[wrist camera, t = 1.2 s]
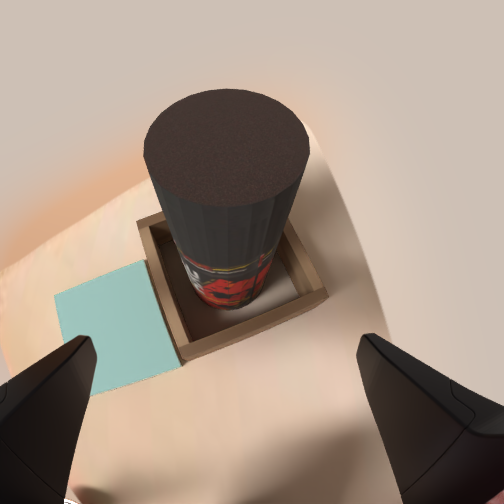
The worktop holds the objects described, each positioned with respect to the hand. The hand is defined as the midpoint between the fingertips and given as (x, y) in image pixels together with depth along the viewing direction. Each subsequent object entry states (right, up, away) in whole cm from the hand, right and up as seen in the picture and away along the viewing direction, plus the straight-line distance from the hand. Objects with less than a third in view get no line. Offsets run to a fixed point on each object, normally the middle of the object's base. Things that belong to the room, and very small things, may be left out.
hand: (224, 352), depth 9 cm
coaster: (-10, -3, +12) cm, 16 cm away
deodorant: (-1, +1, +15) cm, 15 cm away
